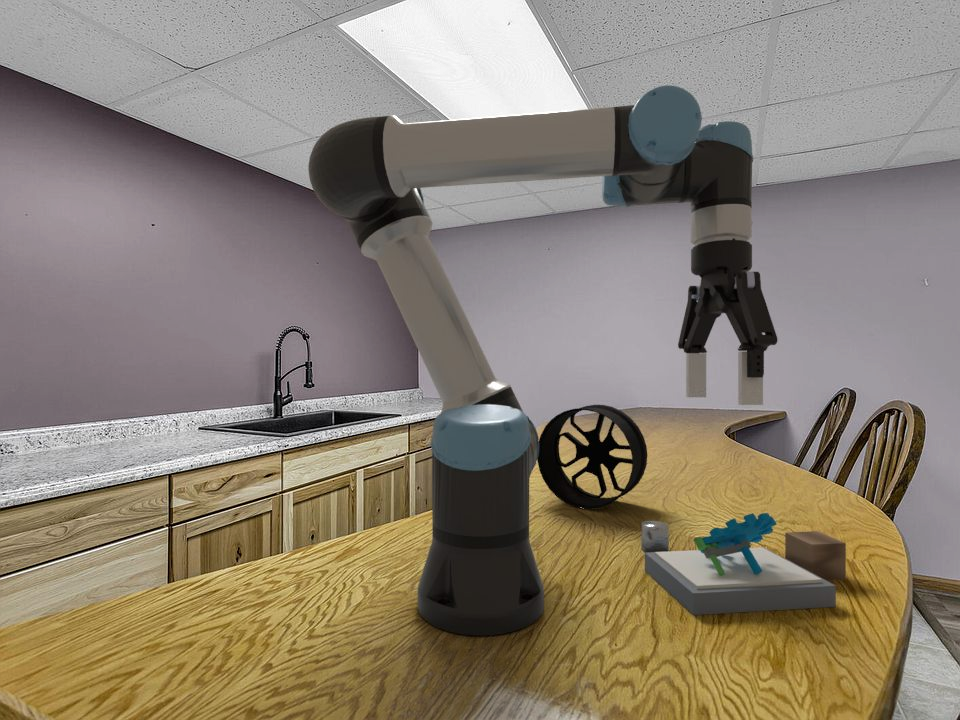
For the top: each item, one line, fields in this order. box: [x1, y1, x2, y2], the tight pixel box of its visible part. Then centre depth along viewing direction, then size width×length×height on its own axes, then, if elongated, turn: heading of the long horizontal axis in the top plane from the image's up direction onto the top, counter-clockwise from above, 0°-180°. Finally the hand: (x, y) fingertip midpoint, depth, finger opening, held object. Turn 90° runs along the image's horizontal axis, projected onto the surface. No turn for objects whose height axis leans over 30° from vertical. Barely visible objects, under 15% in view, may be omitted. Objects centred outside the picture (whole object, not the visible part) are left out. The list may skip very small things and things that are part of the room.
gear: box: [693, 512, 778, 575], centre depth 67 cm, size 11×6×10 cm
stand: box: [644, 547, 837, 616], centre depth 68 cm, size 18×13×3 cm
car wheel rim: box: [536, 404, 648, 511], centre depth 108 cm, size 20×10×20 cm, turn 58°
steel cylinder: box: [640, 520, 670, 554], centre depth 82 cm, size 4×4×4 cm
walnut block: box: [784, 530, 847, 582], centre depth 73 cm, size 5×5×5 cm
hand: (720, 400), depth 71 cm, fingers open, 13 cm apart
